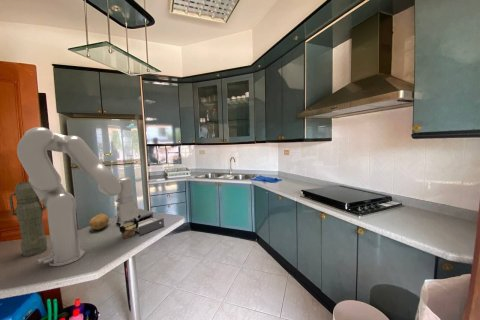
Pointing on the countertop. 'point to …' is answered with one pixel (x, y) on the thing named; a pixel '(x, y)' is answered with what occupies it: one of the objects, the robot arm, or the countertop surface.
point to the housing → (144, 216)
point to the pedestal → (128, 233)
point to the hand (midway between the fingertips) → (129, 229)
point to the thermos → (29, 219)
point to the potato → (99, 221)
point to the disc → (129, 226)
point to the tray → (149, 225)
